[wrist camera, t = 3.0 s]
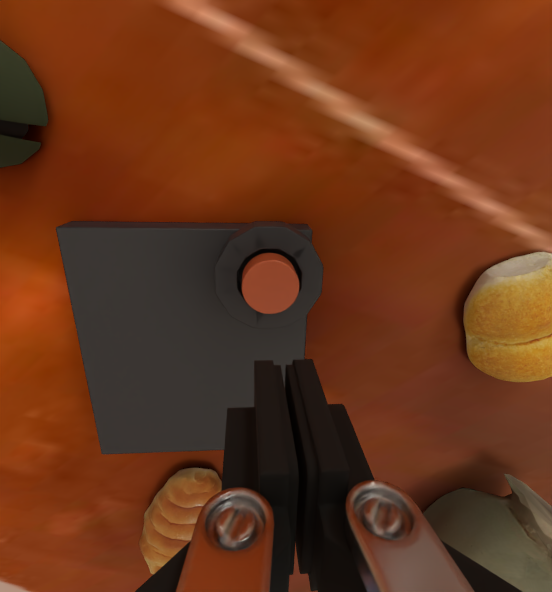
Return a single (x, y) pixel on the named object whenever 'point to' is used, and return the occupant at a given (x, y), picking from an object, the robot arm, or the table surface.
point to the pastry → (175, 514)
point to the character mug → (18, 108)
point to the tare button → (269, 283)
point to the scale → (178, 324)
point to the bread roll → (512, 319)
